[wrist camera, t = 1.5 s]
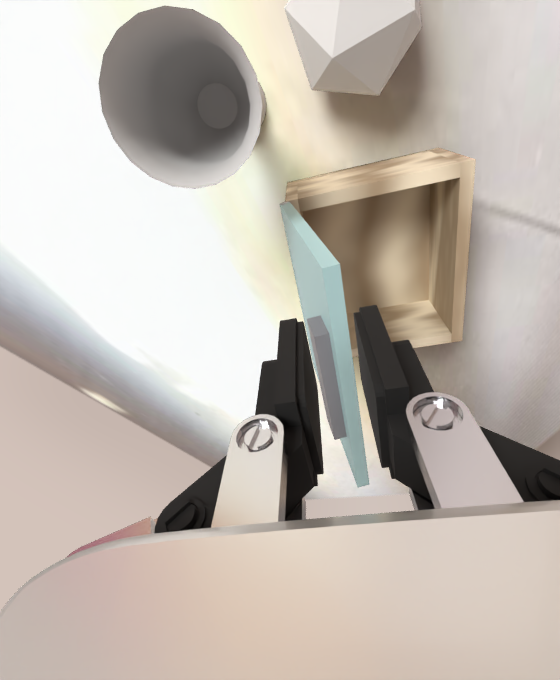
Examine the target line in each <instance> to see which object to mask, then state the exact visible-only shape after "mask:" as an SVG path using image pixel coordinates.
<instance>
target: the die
mask: <svg viewBox="0 0 560 680" xmlns="http://www.w3.org/2000/svg"><path fill="white" fill-rule="evenodd" d="M284 9H285V12H286V15H287V18H288V21H289V24H290V27H291V30H292V33H293V36H294V39H295V42H296V45H297V48H298V51H299V54H300V57H301V59H302V62H303V65H304V68H305V71H306V74H307V77H308V80H309V83H310V86H311V89H312V90H317V91H329V92H342V93H354V94H366V95H378V96H379V95H380V93H381V92H382V90H383V88H384V87H385V85H386V84H387V82H388V80H389V79H390V77H391V76H392V74H393V73H394V71H395V69H396V68H397V66H398V65H399V63H400V61H401V60H402V58H403V57H404V55H405V53H406V52H407V50H408V49H409V47H410V45H411V44H412V42H413V41H414V39H415V38H416V36H417V34H418V33H419V31H420V30H421V28H422V21H421V10H420V0H288V2H287V4H286V6H285V7H284Z"/></svg>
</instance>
